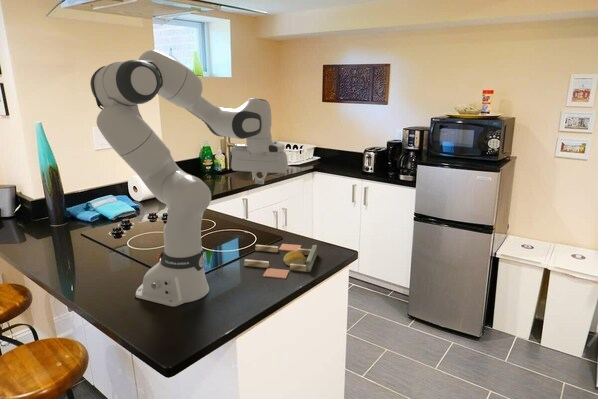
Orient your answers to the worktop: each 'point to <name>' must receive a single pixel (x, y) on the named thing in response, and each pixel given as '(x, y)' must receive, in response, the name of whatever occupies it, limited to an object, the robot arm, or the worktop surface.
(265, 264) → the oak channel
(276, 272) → the trap pads
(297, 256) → the bread roll
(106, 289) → the worktop surface
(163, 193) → the robot arm
